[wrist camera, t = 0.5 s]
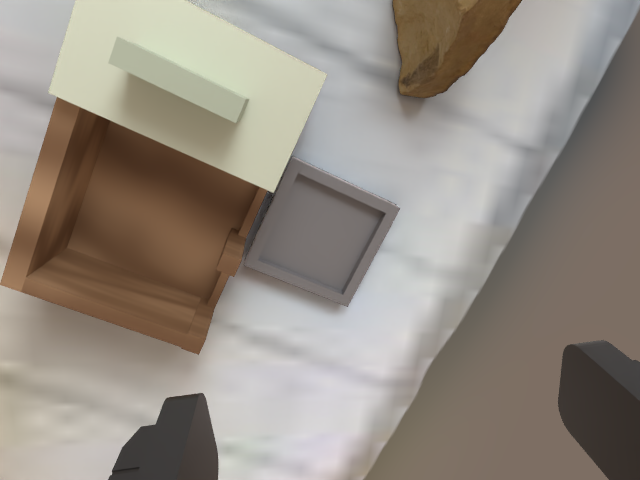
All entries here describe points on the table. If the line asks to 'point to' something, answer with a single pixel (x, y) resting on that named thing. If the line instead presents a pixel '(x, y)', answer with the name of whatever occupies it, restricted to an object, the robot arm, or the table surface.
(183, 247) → the wooden drawer box
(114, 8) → the lid
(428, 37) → the rock
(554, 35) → the table surface
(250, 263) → the dish
